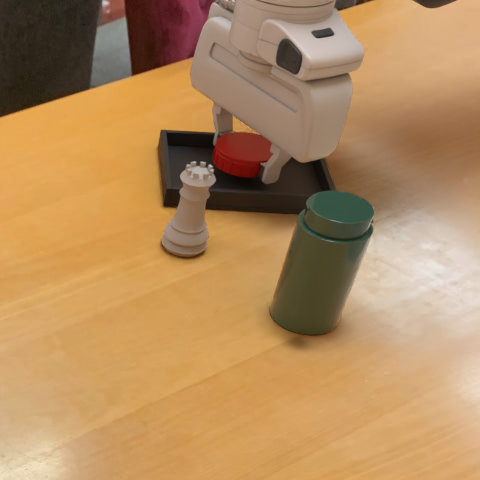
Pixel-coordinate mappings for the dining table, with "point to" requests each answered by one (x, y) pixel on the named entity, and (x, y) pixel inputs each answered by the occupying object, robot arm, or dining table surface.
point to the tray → (238, 178)
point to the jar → (322, 262)
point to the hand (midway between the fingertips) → (244, 163)
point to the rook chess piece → (190, 213)
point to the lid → (241, 153)
